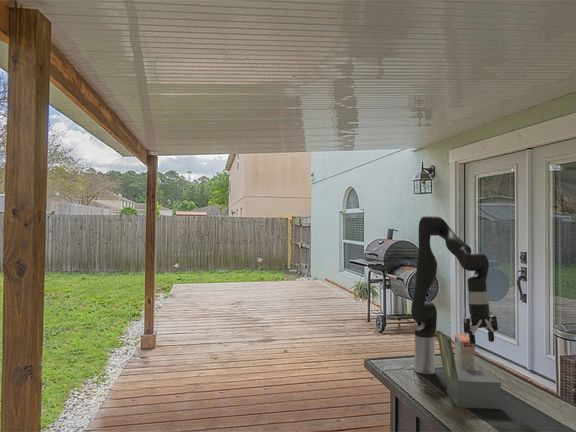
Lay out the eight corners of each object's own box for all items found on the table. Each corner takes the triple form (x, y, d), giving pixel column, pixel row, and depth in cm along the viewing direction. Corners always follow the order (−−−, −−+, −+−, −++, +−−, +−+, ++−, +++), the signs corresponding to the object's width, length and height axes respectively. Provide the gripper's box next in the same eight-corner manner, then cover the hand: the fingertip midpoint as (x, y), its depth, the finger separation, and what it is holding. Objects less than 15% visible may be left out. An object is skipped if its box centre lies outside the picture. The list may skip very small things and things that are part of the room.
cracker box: (475, 391, 179) (475, 341, 180) (460, 390, 180) (460, 340, 181) (468, 380, 193) (468, 334, 194) (454, 379, 194) (454, 333, 195)
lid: (446, 369, 177) (443, 369, 177) (439, 330, 178) (436, 331, 178) (458, 381, 162) (454, 381, 162) (450, 339, 163) (447, 340, 163)
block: (446, 393, 176) (446, 369, 177) (486, 395, 175) (486, 370, 176) (458, 407, 162) (458, 380, 163) (500, 409, 161) (500, 382, 162)
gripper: (487, 300, 179) (490, 339, 177) (457, 302, 176) (461, 342, 174) (499, 301, 172) (503, 342, 170) (469, 304, 168) (473, 346, 167)
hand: (482, 342), depth 172 cm, fingers open, 8 cm apart
